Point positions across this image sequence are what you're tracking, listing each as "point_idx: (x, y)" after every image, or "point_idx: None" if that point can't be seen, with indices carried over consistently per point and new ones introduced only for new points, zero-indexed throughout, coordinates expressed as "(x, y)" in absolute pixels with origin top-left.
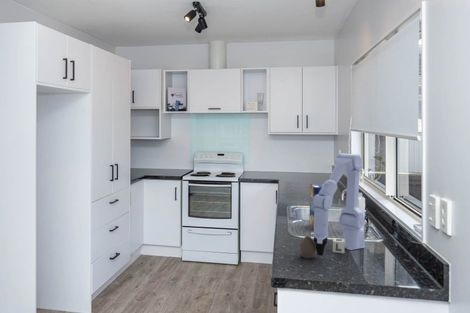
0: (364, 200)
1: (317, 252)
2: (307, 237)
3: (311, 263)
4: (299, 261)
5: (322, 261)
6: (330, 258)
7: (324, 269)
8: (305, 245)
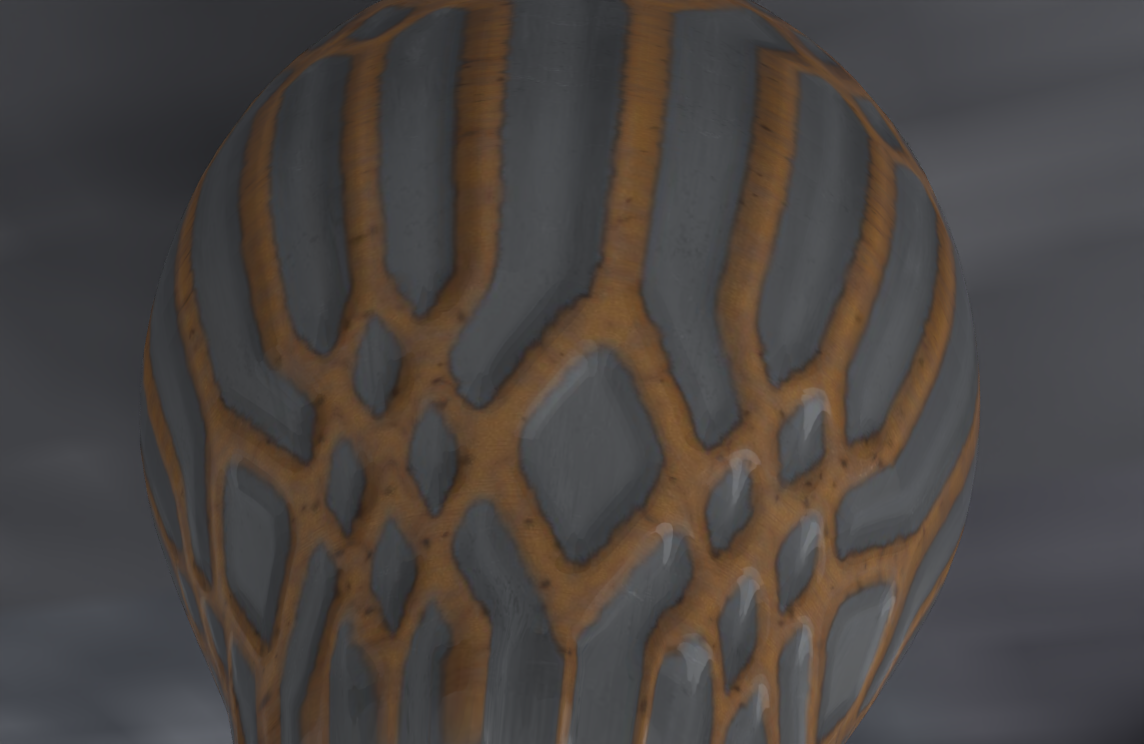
0: None
1: None
2: (808, 727)
3: None
4: (55, 87)
5: None
6: None
7: (46, 682)
8: (149, 476)
